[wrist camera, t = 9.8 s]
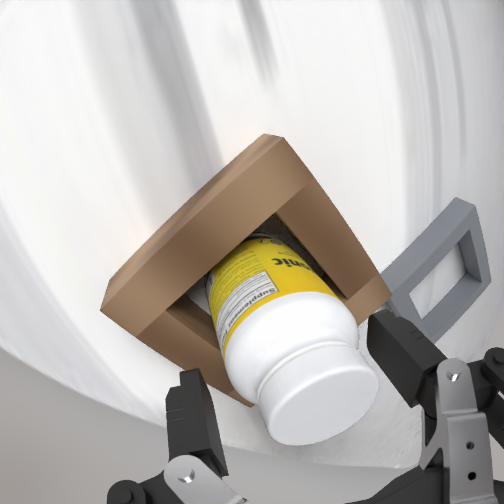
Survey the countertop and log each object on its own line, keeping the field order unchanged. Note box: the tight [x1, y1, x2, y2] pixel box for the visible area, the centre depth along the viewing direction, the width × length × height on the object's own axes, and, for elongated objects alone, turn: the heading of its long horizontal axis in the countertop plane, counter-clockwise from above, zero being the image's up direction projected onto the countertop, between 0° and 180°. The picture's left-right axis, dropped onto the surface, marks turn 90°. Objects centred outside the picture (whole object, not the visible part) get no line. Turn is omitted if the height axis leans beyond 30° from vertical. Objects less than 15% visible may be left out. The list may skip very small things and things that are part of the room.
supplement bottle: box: [205, 233, 379, 446], centre depth 13 cm, size 5×5×10 cm
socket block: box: [100, 134, 392, 408], centre depth 16 cm, size 11×11×3 cm
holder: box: [380, 197, 491, 344], centre depth 21 cm, size 9×9×2 cm
